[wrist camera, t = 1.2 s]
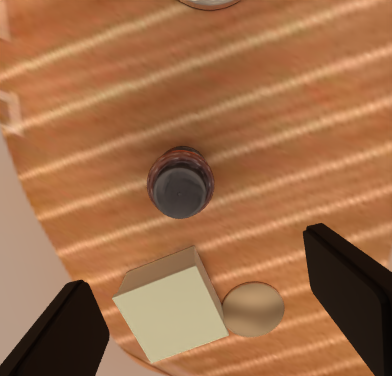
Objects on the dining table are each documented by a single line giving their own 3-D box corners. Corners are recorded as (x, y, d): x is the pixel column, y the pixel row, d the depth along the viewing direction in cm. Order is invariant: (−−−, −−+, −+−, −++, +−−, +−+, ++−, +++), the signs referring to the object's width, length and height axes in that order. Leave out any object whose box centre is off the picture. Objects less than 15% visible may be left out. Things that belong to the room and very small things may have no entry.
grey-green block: (124, 271, 31) (112, 298, 26) (194, 243, 30) (195, 265, 25) (157, 328, 33) (151, 363, 28) (222, 304, 32) (228, 335, 27)
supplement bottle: (158, 192, 28) (138, 230, 17) (158, 144, 27) (136, 151, 16) (206, 194, 28) (216, 232, 17) (208, 146, 27) (221, 155, 16)
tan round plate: (215, 289, 32) (216, 291, 31) (278, 275, 31) (279, 278, 31) (227, 339, 34) (228, 342, 33) (286, 327, 33) (288, 330, 33)
